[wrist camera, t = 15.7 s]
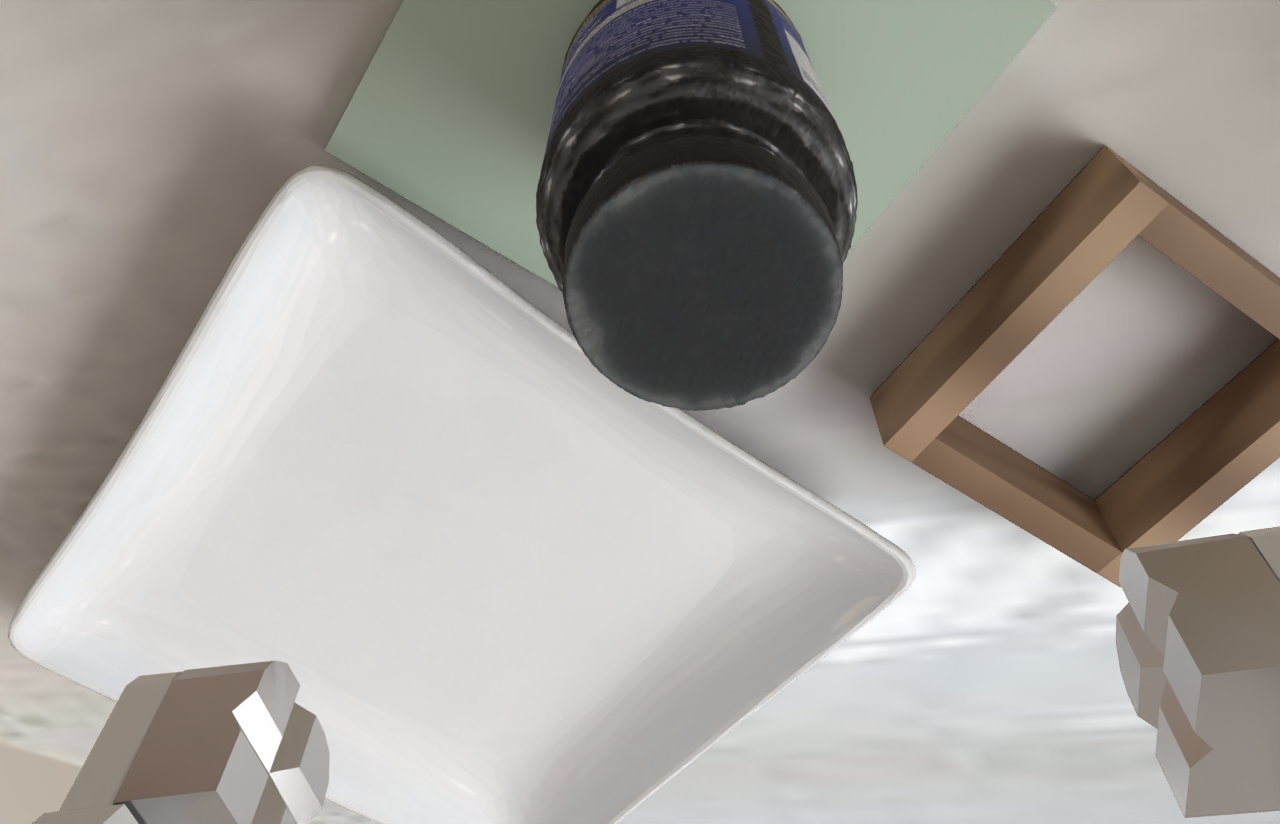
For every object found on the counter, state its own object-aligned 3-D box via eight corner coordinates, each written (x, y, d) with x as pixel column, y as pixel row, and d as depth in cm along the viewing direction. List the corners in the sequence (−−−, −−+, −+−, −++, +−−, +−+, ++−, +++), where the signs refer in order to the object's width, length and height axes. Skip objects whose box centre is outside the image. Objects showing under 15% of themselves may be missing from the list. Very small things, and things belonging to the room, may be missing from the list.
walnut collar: (1105, 145, 29) (1140, 181, 27) (1339, 323, 31) (1387, 369, 29) (869, 397, 33) (884, 445, 31) (1093, 534, 36) (1120, 587, 34)
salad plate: (35, 585, 38) (-15, 658, 35) (334, 104, 29) (298, 151, 26) (540, 826, 45) (532, 903, 42) (913, 501, 36) (936, 572, 33)
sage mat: (596, -363, 23) (594, -364, 22) (1049, 0, 27) (1057, 6, 26) (330, 142, 29) (324, 150, 28) (731, 379, 33) (732, 390, 32)
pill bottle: (526, 147, 28) (462, 371, 19) (622, -88, 25) (601, 45, 16) (740, 239, 30) (777, 490, 20) (857, 27, 27) (962, 211, 17)
